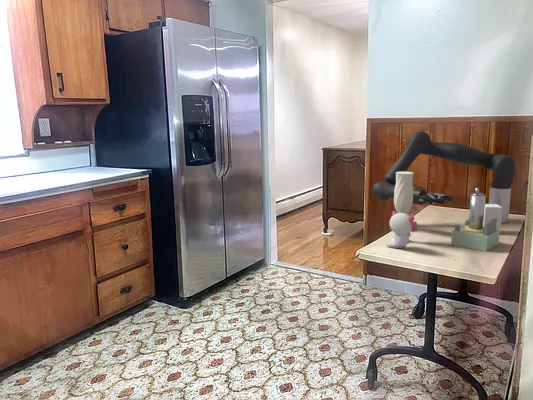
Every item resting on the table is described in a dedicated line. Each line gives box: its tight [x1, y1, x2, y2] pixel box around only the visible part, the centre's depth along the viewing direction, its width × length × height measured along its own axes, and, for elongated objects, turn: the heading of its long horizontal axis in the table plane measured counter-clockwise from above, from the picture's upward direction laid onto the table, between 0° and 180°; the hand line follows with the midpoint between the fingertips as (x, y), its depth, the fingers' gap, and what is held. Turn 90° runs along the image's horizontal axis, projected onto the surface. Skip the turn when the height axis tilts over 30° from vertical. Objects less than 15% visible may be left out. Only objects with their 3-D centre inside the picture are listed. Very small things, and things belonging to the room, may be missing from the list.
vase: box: [390, 171, 414, 243], centre depth 190 cm, size 9×8×30 cm
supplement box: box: [483, 203, 502, 235], centre depth 203 cm, size 7×7×13 cm
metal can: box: [468, 187, 486, 230], centre depth 184 cm, size 6×6×17 cm
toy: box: [384, 210, 418, 249], centre depth 181 cm, size 14×8×15 cm, turn 29°
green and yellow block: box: [450, 218, 500, 252], centre depth 186 cm, size 14×14×11 cm
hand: (448, 200), depth 192 cm, fingers open, 8 cm apart
